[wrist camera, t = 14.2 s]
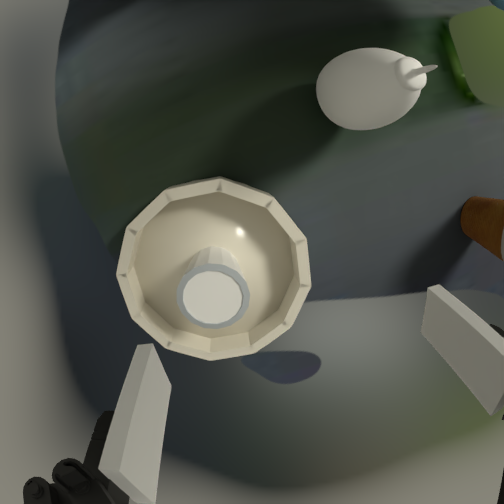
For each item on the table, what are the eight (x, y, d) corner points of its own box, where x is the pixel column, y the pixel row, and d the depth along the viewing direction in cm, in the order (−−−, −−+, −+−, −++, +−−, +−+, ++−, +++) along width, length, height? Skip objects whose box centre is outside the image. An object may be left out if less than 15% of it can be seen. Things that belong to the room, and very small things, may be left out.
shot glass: (172, 274, 34) (161, 303, 27) (208, 228, 32) (205, 248, 26) (219, 307, 35) (219, 341, 29) (256, 265, 34) (265, 292, 28)
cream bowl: (109, 200, 31) (96, 207, 27) (288, 164, 32) (297, 165, 28) (157, 349, 38) (152, 367, 34) (307, 323, 39) (315, 340, 35)
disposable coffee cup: (452, 251, 38) (506, 282, 27) (452, 188, 35) (514, 207, 23) (488, 239, 38) (539, 264, 27) (490, 183, 35) (546, 199, 24)
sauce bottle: (353, 63, 28) (451, 14, 11) (375, 123, 31) (487, 117, 14) (293, 76, 29) (365, 12, 12) (317, 140, 31) (411, 136, 14)
